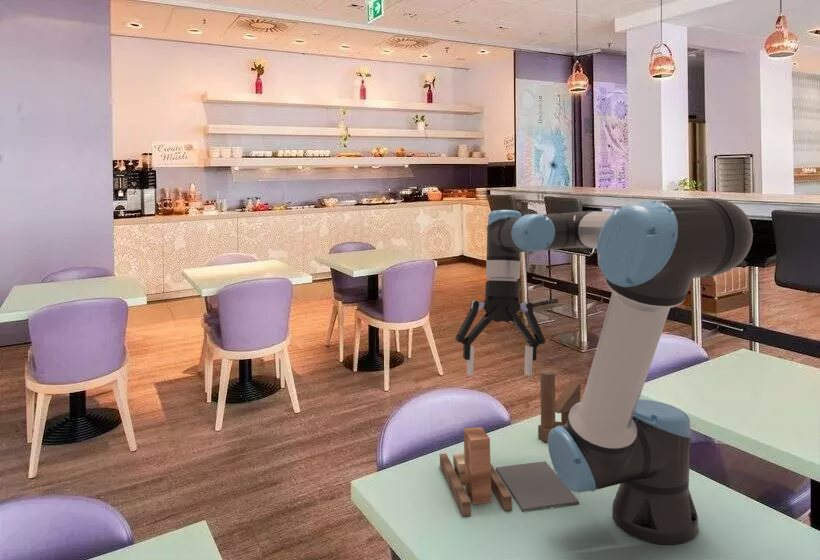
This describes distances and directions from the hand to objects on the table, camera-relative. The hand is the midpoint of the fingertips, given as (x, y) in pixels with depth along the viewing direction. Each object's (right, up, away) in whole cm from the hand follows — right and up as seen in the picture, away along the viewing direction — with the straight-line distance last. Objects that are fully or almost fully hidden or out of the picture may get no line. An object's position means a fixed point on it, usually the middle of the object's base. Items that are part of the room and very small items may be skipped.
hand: (499, 375), depth 131 cm
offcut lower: (-7, -24, +1) cm, 25 cm away
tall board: (-5, -25, -7) cm, 26 cm away
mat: (+7, -23, -4) cm, 25 cm away
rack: (-6, -24, -3) cm, 25 cm away
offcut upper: (-7, -21, +1) cm, 22 cm away
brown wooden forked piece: (+19, -19, +20) cm, 33 cm away
